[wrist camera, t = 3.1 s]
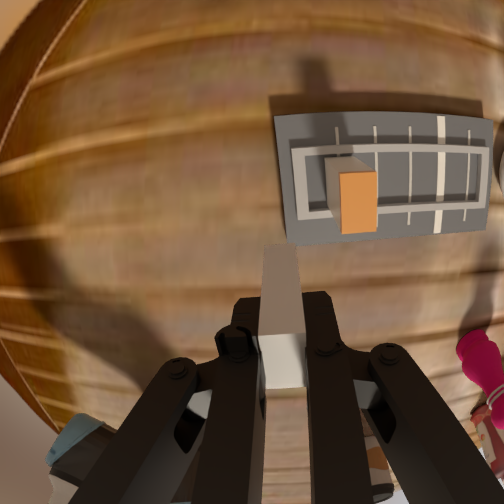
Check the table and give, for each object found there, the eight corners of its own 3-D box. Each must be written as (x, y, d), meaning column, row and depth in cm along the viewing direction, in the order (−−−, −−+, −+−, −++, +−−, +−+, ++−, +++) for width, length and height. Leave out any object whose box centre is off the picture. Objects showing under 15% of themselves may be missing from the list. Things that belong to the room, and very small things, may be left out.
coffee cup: (340, 448, 57) (346, 506, 44) (363, 431, 54) (374, 492, 40) (368, 452, 59) (376, 505, 45) (391, 435, 55) (404, 491, 42)
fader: (327, 205, 32) (341, 234, 25) (324, 157, 30) (340, 173, 23) (355, 203, 31) (376, 231, 25) (353, 156, 29) (376, 171, 22)
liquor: (467, 411, 52) (501, 508, 27) (492, 395, 50) (532, 488, 25) (468, 421, 54) (499, 511, 29) (493, 407, 52) (527, 494, 27)
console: (286, 239, 36) (287, 250, 34) (273, 115, 30) (273, 116, 28) (477, 224, 33) (488, 232, 31) (483, 118, 27) (496, 120, 25)
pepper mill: (467, 324, 41) (521, 418, 23) (493, 327, 41) (545, 411, 23) (446, 357, 44) (488, 450, 26) (473, 358, 44) (515, 442, 26)
